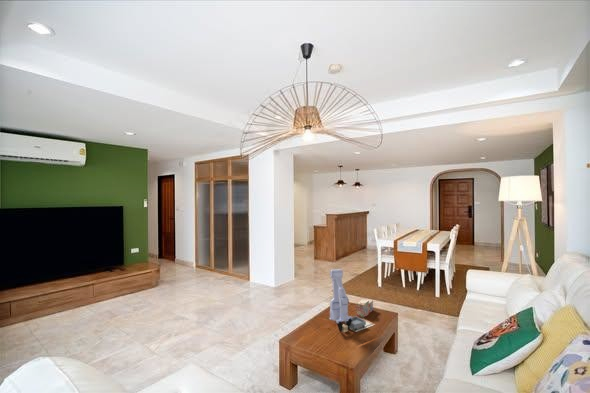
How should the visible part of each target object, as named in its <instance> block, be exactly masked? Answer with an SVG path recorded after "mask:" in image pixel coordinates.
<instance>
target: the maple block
mask: <svg viewBox="0 0 590 393" xmlns="http://www.w3.org/2000/svg"><path fill="white" fill-rule="evenodd" d="M342 324H343V325H342V332H341V333H346V332H348V331H349V329H348V326H347V325H346V323H345V324H344V323H342Z"/></svg>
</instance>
